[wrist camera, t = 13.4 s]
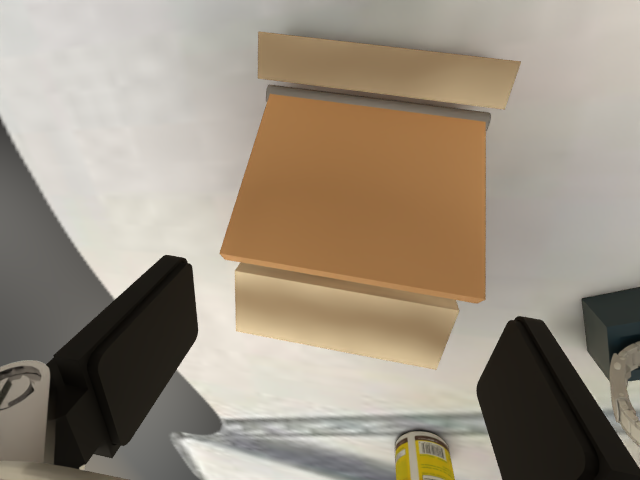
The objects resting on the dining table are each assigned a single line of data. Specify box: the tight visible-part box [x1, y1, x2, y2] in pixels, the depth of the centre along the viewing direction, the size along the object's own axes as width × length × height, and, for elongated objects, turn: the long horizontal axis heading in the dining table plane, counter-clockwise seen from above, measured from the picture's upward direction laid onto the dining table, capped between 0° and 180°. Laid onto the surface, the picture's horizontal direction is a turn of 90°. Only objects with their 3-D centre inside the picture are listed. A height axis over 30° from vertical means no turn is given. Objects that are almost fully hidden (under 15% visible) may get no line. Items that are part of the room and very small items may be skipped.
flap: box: [220, 85, 491, 303], centre depth 16 cm, size 10×11×1 cm
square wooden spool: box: [235, 32, 521, 370], centre depth 21 cm, size 18×14×6 cm
